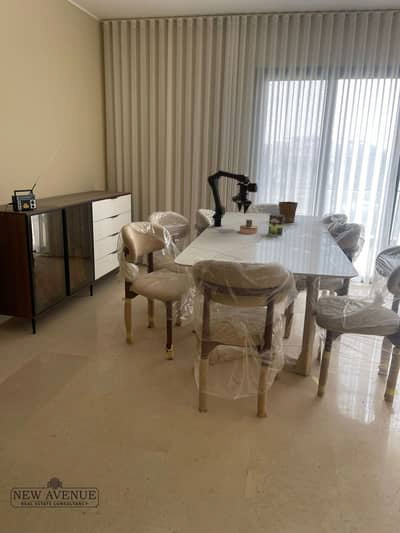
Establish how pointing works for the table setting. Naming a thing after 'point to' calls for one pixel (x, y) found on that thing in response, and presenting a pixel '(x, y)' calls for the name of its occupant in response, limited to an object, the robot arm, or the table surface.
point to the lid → (248, 225)
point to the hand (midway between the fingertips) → (242, 212)
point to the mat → (227, 230)
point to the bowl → (249, 231)
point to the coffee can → (276, 224)
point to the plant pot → (288, 211)
